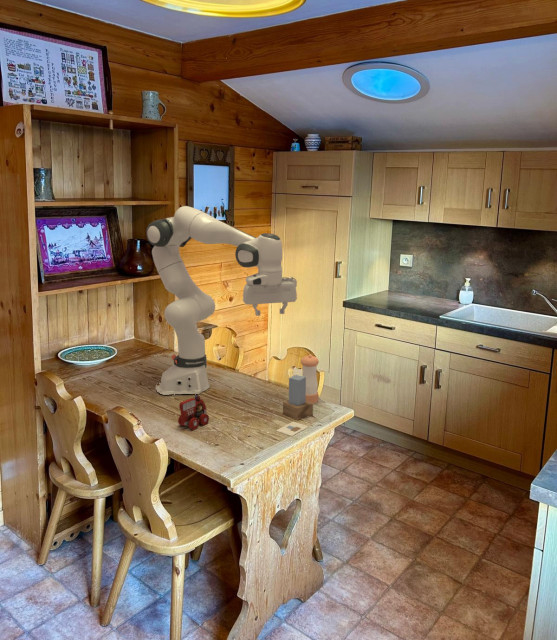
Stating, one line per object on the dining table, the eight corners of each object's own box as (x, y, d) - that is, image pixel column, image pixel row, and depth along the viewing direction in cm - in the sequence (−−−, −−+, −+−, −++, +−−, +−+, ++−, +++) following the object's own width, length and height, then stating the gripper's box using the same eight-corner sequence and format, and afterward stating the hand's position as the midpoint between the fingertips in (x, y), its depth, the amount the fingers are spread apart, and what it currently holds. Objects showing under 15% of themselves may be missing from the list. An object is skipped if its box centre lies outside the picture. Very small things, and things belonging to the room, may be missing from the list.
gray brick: (298, 405, 226) (298, 380, 224) (288, 403, 228) (289, 377, 226) (305, 402, 229) (305, 377, 227) (295, 399, 232) (296, 374, 230)
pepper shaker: (320, 398, 246) (321, 353, 241) (314, 405, 239) (315, 358, 235) (303, 396, 249) (304, 351, 244) (297, 402, 242) (297, 356, 237)
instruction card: (291, 436, 212) (291, 435, 211) (276, 431, 216) (276, 430, 216) (308, 427, 219) (308, 426, 219) (293, 422, 223) (293, 421, 223)
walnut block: (296, 421, 225) (297, 408, 224) (282, 414, 231) (283, 402, 230) (312, 415, 230) (313, 403, 229) (298, 409, 236) (298, 397, 235)
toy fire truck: (212, 421, 224) (212, 395, 221) (188, 433, 214) (187, 405, 211) (199, 416, 228) (198, 390, 225) (174, 427, 218) (173, 400, 215)
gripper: (294, 275, 231) (293, 310, 234) (241, 277, 225) (241, 314, 228) (299, 278, 225) (298, 314, 228) (245, 281, 219) (246, 318, 222)
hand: (270, 314), depth 228 cm, fingers open, 8 cm apart
